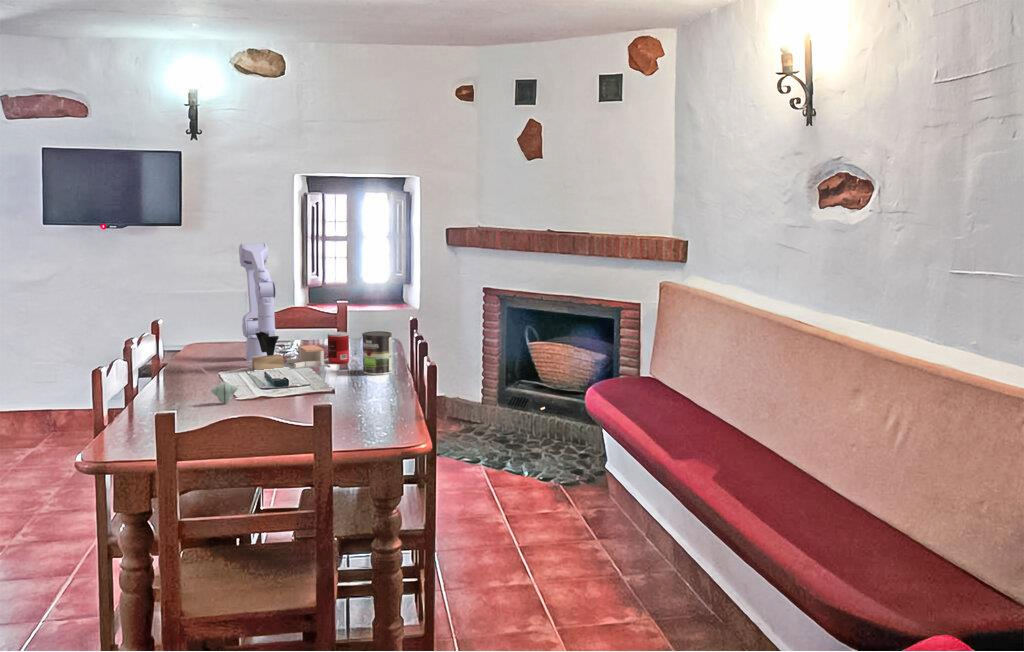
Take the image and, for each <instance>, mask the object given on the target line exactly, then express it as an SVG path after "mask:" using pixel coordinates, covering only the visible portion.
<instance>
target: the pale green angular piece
mask: <svg viewBox="0 0 1024 652" xmlns="http://www.w3.org/2000/svg"><path fill="white" fill-rule="evenodd" d="M238 389H239V388H238V386H237V385H232V384H231V383H230V382H227V381H220V383H219V384H217V385H216V386H214V387H212V388H211V389H210V391H211V393H212V394H213V395H214V396H215V397H217V399H218V401H219V402H220V403H221V404H224V405H226V404H227V403H229V402H230V401H231V399H232V397H233V395H234V394H236V392H237V391H238Z"/></svg>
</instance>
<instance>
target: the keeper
mask: <svg viewBox="0 0 1024 652" xmlns="http://www.w3.org/2000/svg"><path fill="white" fill-rule="evenodd" d="M298 349H299V350H298V351H299V354H298V355H299V358H286V361H283V367H289V368H290V369H289V370H296V369H297V370H298V369H306V368H307V369H308V368H320V367H327V368H330V367H331V365H330V364H328V363H326V362H325V348H323V347H321V346H319V345H317V344H310V345H309V344H307V345H298ZM245 366H246V368H249V369H250V370H251V371H253V368H252V364H248V365H245Z"/></svg>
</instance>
